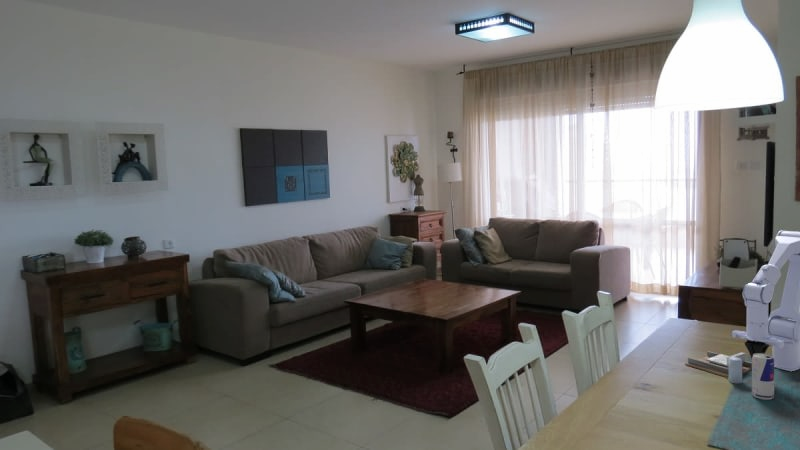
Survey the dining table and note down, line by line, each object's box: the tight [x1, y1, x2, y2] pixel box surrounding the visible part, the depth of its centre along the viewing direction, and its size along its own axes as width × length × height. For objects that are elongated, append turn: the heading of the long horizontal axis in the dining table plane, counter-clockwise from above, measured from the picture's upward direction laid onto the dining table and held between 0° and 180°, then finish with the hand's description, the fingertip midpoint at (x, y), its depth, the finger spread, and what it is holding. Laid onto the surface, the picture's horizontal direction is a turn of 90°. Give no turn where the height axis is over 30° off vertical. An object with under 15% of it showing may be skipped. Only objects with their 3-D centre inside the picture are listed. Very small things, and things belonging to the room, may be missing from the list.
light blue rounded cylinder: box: [728, 357, 743, 384], centre depth 178 cm, size 4×4×7 cm
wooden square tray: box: [684, 350, 752, 379], centre depth 191 cm, size 14×15×2 cm
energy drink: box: [751, 353, 775, 401], centre depth 166 cm, size 5×5×12 cm
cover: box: [706, 352, 746, 367], centre depth 189 cm, size 8×8×3 cm
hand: (757, 364), depth 180 cm, fingers closed
